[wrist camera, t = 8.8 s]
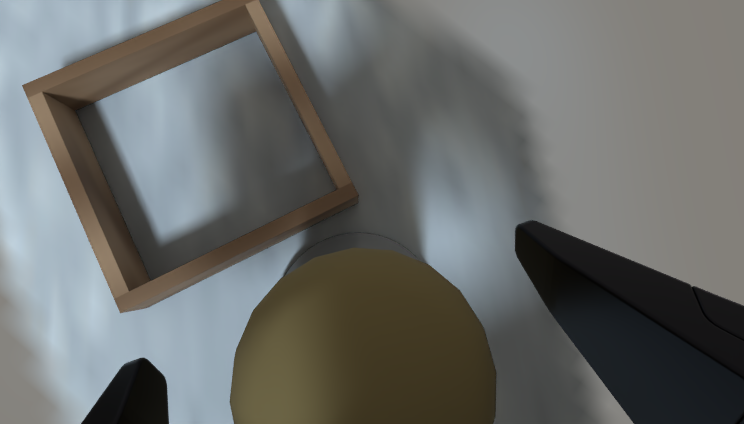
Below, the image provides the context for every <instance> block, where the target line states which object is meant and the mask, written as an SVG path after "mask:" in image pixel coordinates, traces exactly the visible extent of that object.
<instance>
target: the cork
mask: <svg viewBox="0 0 744 424" xmlns="http://www.w3.org/2000/svg"><path fill="white" fill-rule="evenodd" d="M230 405H231V410H232V415H233V420H234V424H493V422H494V419H495V411H496V370H495V366H494V363H493V359H492V355H491V352H490V348H489V345H488V341H487V338H486V334H485V331H484V328H483V326H482V324H481V322H480V321H479V319H478V318H477V316H476V315H475V313H474V312H473V310H472V308H471V307H470V305H469V304H468V302H467V301H466V299H465V298H464V296H463V294H462V293H461V291H460V290H459V289H458V288H456V287H455V286H454V285H453V284H452V283H450V282H449V281H448V280H447V279H445V278H444V277H443V276H442V275H441V274H439V273H438V272H437V271H436V270H435V269H433V268H432V267H431V266H430V265H428V264H426V263H423V262H421V261H418V260H416V259H413V258H411V257H408V256H406V255H403V254H401V253H398V252H396V251H393V250H381V249H366V248H350V249H346V250H342V251H338V252H334V253H330V254H326V255H322V256H318V257H315V258H313V259H311V260H310V261H308V262H307V263H305V264H303V265H302V266H300V267H299V268H297V269H295V270H294V271H292V272H291V273H289V274H287V275H286V276H284V277H283V278H281V279H280V280H279V281H278V282H277V283H276V284H275V286H274V287H273V288H272V289H271V290H270V291H269V293H268V294H267V295H266V296H265V297H264V298H263V300H262V301H261V302H260V303H259V304H258V305H257V307H256V308H255V309H254V310H253V312H252V314H251V317H250V319H249V321H248V324H247V326H246V328H245V330H244V333H243V335H242V337H241V340H240V342H239V344H238V347H237V349H236V353H235V358H234V367H233V376H232V386H231V395H230Z"/></svg>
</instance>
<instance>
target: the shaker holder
mask: <svg viewBox="0 0 744 424" xmlns="http://www.w3.org/2000/svg"><path fill="white" fill-rule="evenodd" d="M254 32H257V34H258V36H259V38H260V40H261V42H262V44H263V46H264V48H265V50H266V52H267V53H268V55H269V57H270V59H271V61H272V63H273V65H274V67H275V69H276V71H277V73H278V75H279V77H280V79H281V81H282V83H283V85H284V87H285V89H286V91H287V93H288V95H289V97H290V99H291V101H292V103H293V105H294V107H295V109H296V111H297V113H298V115H299V117H300V118H301V120H302V122H303V124H304V126H305V128H306V130H307V132H308V134H309V136H310V138H311V140H312V142H313V144H314V146H315V148H316V150H317V152H318V154H319V156H320V158H321V160H322V162H323V164H324V166H325V168H326V170H327V172H328V174H329V176H330V178H331V180H332V182H333V183H334V185H335V187H336V189H337V190H335V191H333V192H331V193H329V194H327V195H325V196H323V197H321V198H319V199H317V200H315V201H313V202H311V203H309V204H307V205H305V206H303V207H300V208H298V209H296V210H294V211H292V212H290V213H288V214H286V215H284V216H282V217H280V218H278V219H276V220H274V221H272V222H270V223H268V224H266V225H264V226H262V227H260V228H258V229H256V230H254V231H252V232H250V233H247V234H245V235H243V236H241V237H239V238H237V239H235V240H233V241H231V242H229V243H227V244H225V245H223V246H221V247H219V248H217V249H215V250H213V251H211V252H209V253H207V254H205V255H203V256H201V257H199V258H197V259H194V260H192V261H190V262H188V263H186V264H184V265H182V266H180V267H178V268H176V269H174V270H172V271H170V272H168V273H166V274H164V275H162V276H160V277H158V278H156V279H154V280H152V281H150V278H149V276H148V274H147V272H146V269H145V267H144V265H143V262H142V260H141V258H140V256H139V253H138V251H137V249H136V247H135V244H134V242H133V240H132V238H131V235H130V233H129V231H128V229H127V226H126V224H125V222H124V220H123V217H122V215H121V213H120V211H119V208H118V206H117V204H116V202H115V199H114V197H113V195H112V193H111V190H110V188H109V186H108V184H107V181H106V179H105V177H104V175H103V172H102V170H101V168H100V166H99V163H98V161H97V159H96V157H95V154H94V152H93V150H92V147H91V145H90V143H89V141H88V138H87V136H86V134H85V132H84V129H83V127H82V125H81V123H80V120H79V118H78V116H77V114H76V111H75V110H78V109H80V108H82V107H85V106H87V105H89V104H91V103H94V102H96V101H98V100H100V99H103V98H105V97H107V96H110V95H112V94H114V93H116V92H119V91H121V90H123V89H126V88H128V87H130V86H132V85H135V84H137V83H139V82H142V81H144V80H146V79H148V78H151V77H153V76H155V75H158V74H160V73H162V72H164V71H167V70H169V69H171V68H174V67H176V66H178V65H180V64H183V63H185V62H187V61H190V60H192V59H194V58H196V57H199V56H201V55H203V54H206V53H208V52H210V51H212V50H215V49H217V48H219V47H222V46H224V45H226V44H228V43H231V42H233V41H235V40H238V39H240V38H242V37H244V36H247V35H249V34H251V33H254ZM22 86H23V89H24V91H25V93H26V96H27V98H28V100H29V103H30V105H31V107H32V110H33V112H34V114H35V116H36V119H37V121H38V123H39V126H40V128H41V130H42V133H43V135H44V137H45V140H46V142H47V144H48V147H49V149H50V151H51V154H52V156H53V158H54V161H55V163H56V165H57V168H58V170H59V172H60V174H61V177H62V179H63V181H64V184H65V186H66V188H67V191H68V193H69V195H70V198H71V200H72V202H73V205H74V207H75V209H76V212H77V214H78V216H79V219H80V221H81V223H82V225H83V228H84V230H85V232H86V235H87V237H88V239H89V242H90V244H91V246H92V249H93V251H94V253H95V256H96V258H97V260H98V263H99V265H100V267H101V270H102V272H103V274H104V276H105V279H106V281H107V283H108V286H109V288H110V290H111V293H112V295H113V297H114V300H115V302H116V304H117V307H118V309H119V311H120V313H124V312H129V311H134V310H139V309H144V308H148V307H150V306H152V305H154V304H156V303H158V302H160V301H162V300H164V299H166V298H168V297H170V296H172V295H174V294H176V293H178V292H180V291H182V290H184V289H186V288H188V287H190V286H192V285H194V284H196V283H198V282H200V281H202V280H204V279H206V278H208V277H210V276H212V275H214V274H216V273H218V272H220V271H222V270H224V269H226V268H228V267H230V266H232V265H234V264H236V263H238V262H240V261H242V260H244V259H246V258H248V257H250V256H252V255H254V254H256V253H258V252H260V251H262V250H264V249H266V248H268V247H270V246H272V245H274V244H276V243H279V242H281V241H283V240H285V239H287V238H289V237H291V236H293V235H295V234H297V233H299V232H301V231H303V230H305V229H307V228H309V227H311V226H313V225H315V224H317V223H319V222H321V221H323V220H325V219H327V218H329V217H331V216H333V215H335V214H337V213H339V212H341V211H343V210H345V209H347V208H349V207H351V206H353V205H355V204H357V203H358V197H359V195H358V193H357V191H356V189H355V187H354V185H353V183H352V181H351V179H350V177H349V176H348V174H347V172H346V170H345V168H344V166H343V164H342V162H341V160H340V158H339V156H338V154H337V152H336V150H335V148H334V146H333V144H332V142H331V140H330V138H329V137H328V135H327V133H326V131H325V129H324V127H323V125H322V123H321V121H320V119H319V117H318V115H317V113H316V111H315V109H314V107H313V105H312V103H311V101H310V99H309V98H308V96H307V94H306V92H305V90H304V88H303V86H302V84H301V82H300V80H299V78H298V76H297V74H296V72H295V70H294V68H293V66H292V64H291V62H290V61H289V59H288V57H287V55H286V53H285V51H284V49H283V47H282V45H281V43H280V41H279V39H278V37H277V35H276V33H275V31H274V29H273V27H272V25H271V23H270V22H269V20H268V18H267V16H266V14H265V12H264V10H263V8H262V6H261V4H260V2H259V0H222V1H219V2H217V3H215V4H212V5H210V6H207V7H205V8H203V9H200V10H198V11H196V12H193V13H191V14H189V15H186V16H184V17H182V18H179V19H177V20H175V21H172V22H170V23H168V24H165V25H163V26H160V27H158V28H156V29H153V30H151V31H149V32H146V33H144V34H142V35H139V36H137V37H135V38H132V39H130V40H128V41H125V42H123V43H121V44H118V45H116V46H113V47H111V48H109V49H106V50H104V51H102V52H99V53H97V54H95V55H92V56H90V57H88V58H85V59H83V60H81V61H78V62H76V63H74V64H71V65H69V66H67V67H64V68H62V69H59V70H57V71H55V72H52V73H50V74H48V75H45V76H43V77H41V78H38V79H36V80H34V81H31V82H29V83H27V84H24V85H22Z"/></svg>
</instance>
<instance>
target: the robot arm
mask: <svg viewBox="0 0 744 424" xmlns="http://www.w3.org/2000/svg"><path fill="white" fill-rule="evenodd" d="M515 252H516V255H517V258H518V259H519V261H520V263H521V265H522V266H523V268H524V270H525V271H526V273H527V275H528V276H529V278H530V280H531V281H532V283H533V285H534V287H535V288H536V290H537V292H538V293H539V295H540V297H541V298H542V300H543V302H544V303H545V305H546V306H547V308H548V310H549V311H550V312H551V314H552V315H553V317H554V318H555V319H556V321H557V322H558V323H559V325H560V326H561V327H562V329H563V330H564V331H565V333H566V334H567V335H568V337H569V338H570V339H571V341H572V342H573V343H574V345H575V346H576V347H577V349H578V350H579V351H580V353H581V354H582V355H583V357H584V358H585V359H586V361H587V362H588V363H589V365H590V366H591V367H592V369H593V370H594V371H595V372H596V374H597V375H598V376H599V378H600V379H601V380H602V382H603V383H604V384H605V386H606V387H607V388H608V390H609V391H610V392H611V394H612V395H613V396H614V398H615V399H616V400H617V402H618V403H619V404H620V406H621V407H622V408H623V410H624V411H625V412H626V414H627V415H628V416H629V417H630V419H631V420H632V421H633V423H634V424H744V306H743V305H741V304H738V303H736V302H733V301H730V300H728V299H725V298H723V297H720V296H718V295H715V294H712V293H710V292H708V291H705V290H703V289H700V288H698V287H695V286H693V287H691V285H690V284H688V283H685V282H683V281H680V280H678V279H676V278H673V277H671V276H668V275H666V274H663V273H661V272H659V271H656V270H654V269H651V268H649V267H646V266H644V265H642V264H639V263H637V262H634V261H631V260H629V259H627V258H625V257H622V256H620V255H617V254H615V253H612V252H610V251H608V250H605V249H603V248H600V247H598V246H595V245H593V244H590V243H588V242H586V241H583V240H581V239H578V238H576V237H573V236H571V235H569V234H566V233H564V232H561V231H559V230H556V229H554V228H552V227H549V226H547V225H544V224H542V223H539V222H537V221H533V220H531V221H527V222H524V223H522V224H519V225H517V227H516V229H515ZM81 424H169V416H168V396H167V383H166V379H165V377H164V376H163V374H162V373H161V372H160V371H159V370H158V369H157V368H156V367H155V366H154V365H153V364H152V363H151V362H150V361H149V360H147V359H146V358H139V359H136V360H133V361H131V362H128V363H126V364H124V365H123V366H122V367H121V369H120V370H119V371H118V373H117V374H116V376H115V377H114V378H113V380H112V381H111V383H110V384H109V385H108V387H107V388H106V390H105V391H104V392H103V394H102V395H101V397H100V398H99V399H98V401H97V402H96V404H95V405H94V406H93V408H92V409H91V411H90V412H89V413H88V415H87V416H86V418H85V419H84V420H83V422H82V423H81Z"/></svg>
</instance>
